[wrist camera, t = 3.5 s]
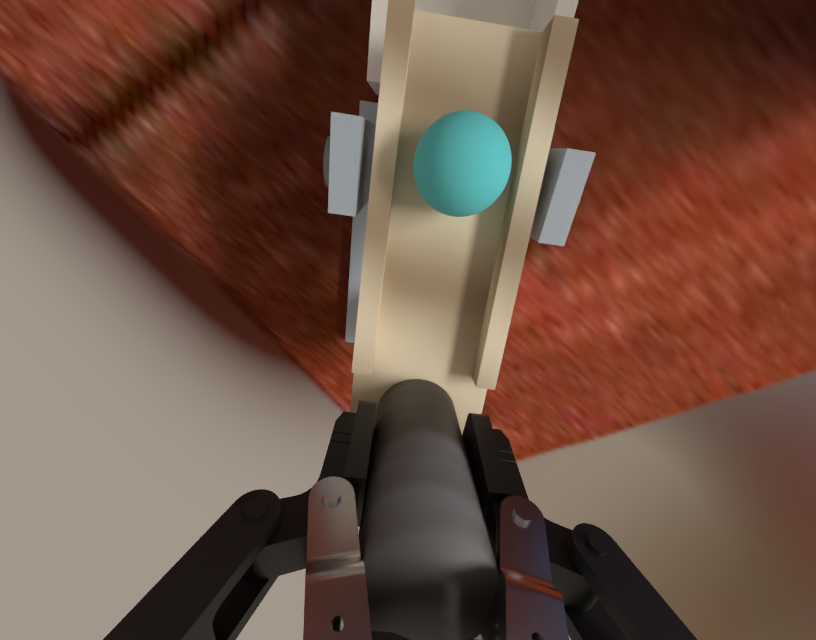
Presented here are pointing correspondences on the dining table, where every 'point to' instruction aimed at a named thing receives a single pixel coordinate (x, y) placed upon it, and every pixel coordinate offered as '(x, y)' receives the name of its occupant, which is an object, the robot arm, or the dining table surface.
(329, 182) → the stand
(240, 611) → the robot arm
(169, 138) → the dining table surface
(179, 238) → the dining table surface
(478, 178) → the ball
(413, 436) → the lever
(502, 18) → the gray open tray
